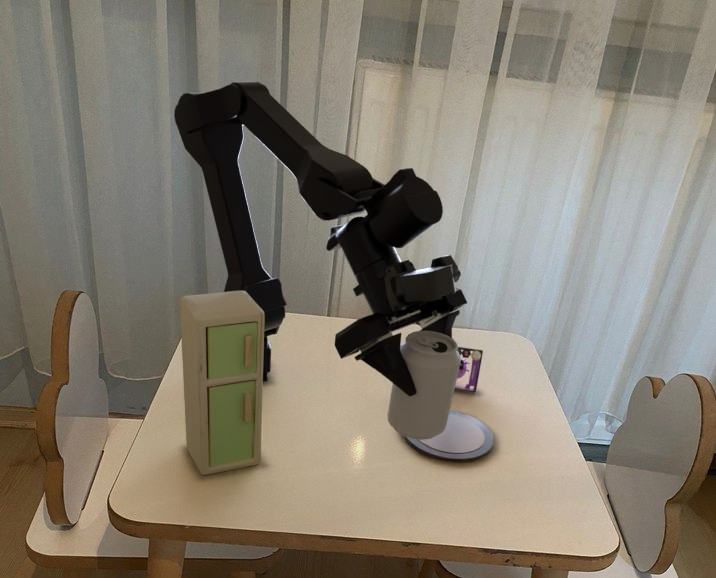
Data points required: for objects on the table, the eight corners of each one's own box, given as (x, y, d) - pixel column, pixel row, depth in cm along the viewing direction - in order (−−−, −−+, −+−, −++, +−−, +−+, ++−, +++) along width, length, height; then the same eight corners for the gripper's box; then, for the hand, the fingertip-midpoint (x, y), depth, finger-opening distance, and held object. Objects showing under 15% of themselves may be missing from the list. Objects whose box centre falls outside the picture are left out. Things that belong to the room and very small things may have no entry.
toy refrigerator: (201, 480, 87) (198, 321, 75) (184, 448, 92) (178, 294, 80) (263, 468, 90) (268, 314, 78) (243, 437, 96) (246, 289, 84)
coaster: (414, 463, 95) (415, 459, 94) (393, 412, 105) (393, 408, 105) (505, 461, 98) (506, 457, 97) (476, 411, 108) (477, 408, 108)
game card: (426, 343, 110) (483, 350, 110) (424, 339, 115) (479, 347, 115) (419, 385, 112) (476, 393, 112) (418, 380, 117) (472, 388, 117)
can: (442, 448, 87) (462, 360, 80) (382, 436, 87) (396, 348, 80) (447, 417, 93) (465, 333, 86) (390, 406, 93) (404, 322, 86)
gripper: (365, 248, 72) (431, 386, 73) (470, 221, 84) (526, 340, 85) (306, 294, 81) (366, 418, 82) (409, 264, 93) (460, 372, 94)
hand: (433, 385), depth 85 cm, fingers closed on can, 7 cm apart
